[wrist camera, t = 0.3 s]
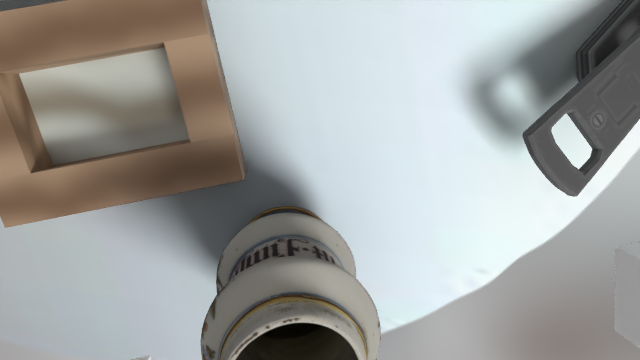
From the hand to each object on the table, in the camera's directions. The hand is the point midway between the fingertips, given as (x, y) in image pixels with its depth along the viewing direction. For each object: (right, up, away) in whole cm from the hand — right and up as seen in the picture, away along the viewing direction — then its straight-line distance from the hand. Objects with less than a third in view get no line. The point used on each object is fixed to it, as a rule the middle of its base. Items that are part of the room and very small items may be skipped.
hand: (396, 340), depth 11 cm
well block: (-20, +11, +23) cm, 33 cm away
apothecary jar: (-6, -3, +29) cm, 29 cm away
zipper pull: (+26, +15, +28) cm, 41 cm away
